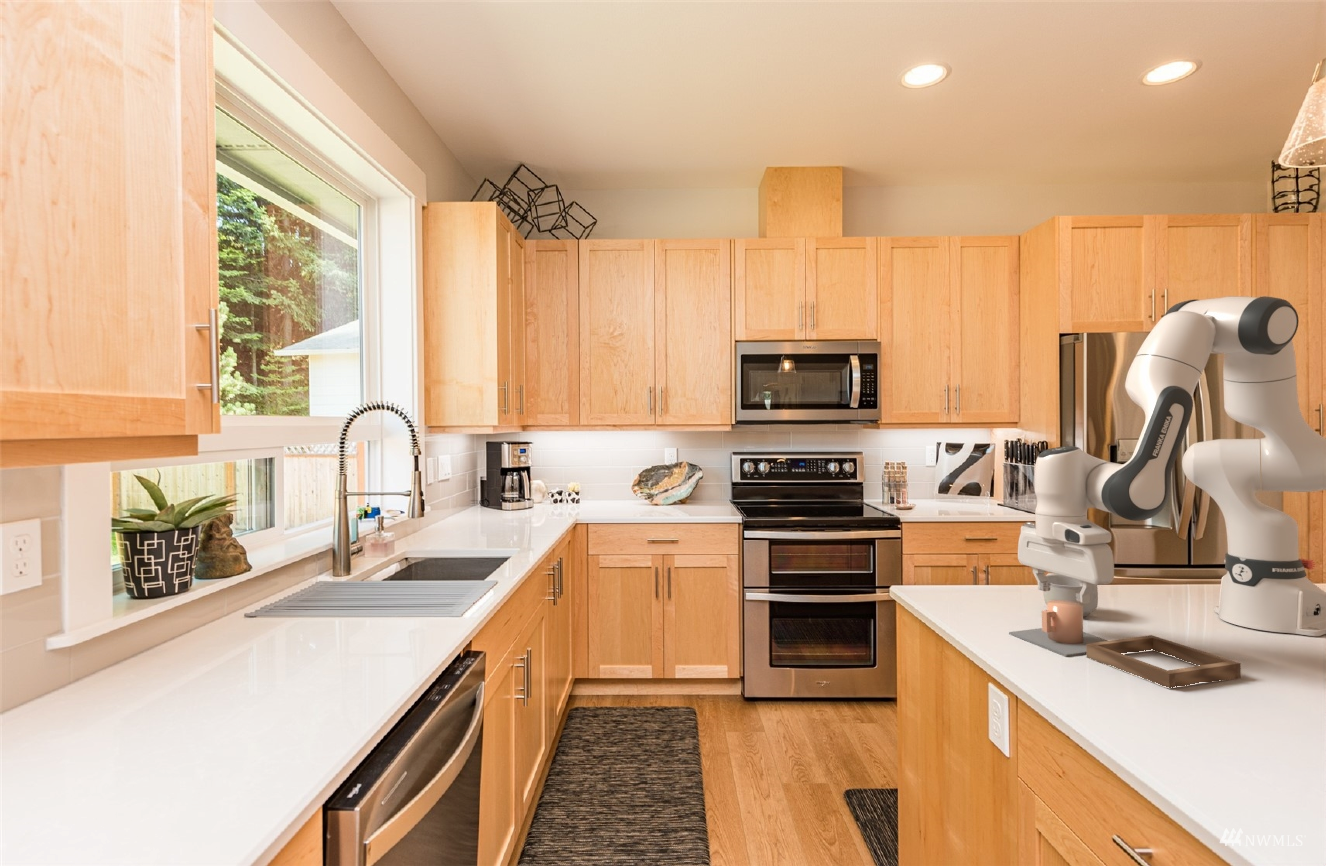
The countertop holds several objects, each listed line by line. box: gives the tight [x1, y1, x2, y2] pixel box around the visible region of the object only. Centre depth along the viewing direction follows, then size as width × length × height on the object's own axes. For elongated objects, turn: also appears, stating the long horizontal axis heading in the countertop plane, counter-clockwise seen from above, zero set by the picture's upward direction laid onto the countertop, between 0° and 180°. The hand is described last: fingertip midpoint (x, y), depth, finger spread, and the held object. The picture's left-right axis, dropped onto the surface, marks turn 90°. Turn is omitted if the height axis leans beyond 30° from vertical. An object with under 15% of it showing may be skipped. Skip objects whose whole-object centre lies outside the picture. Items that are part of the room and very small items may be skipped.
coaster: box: [1008, 627, 1109, 658], centre depth 129 cm, size 14×14×1 cm
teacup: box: [1042, 572, 1099, 617], centre depth 149 cm, size 14×11×8 cm
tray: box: [1085, 634, 1242, 688], centre depth 115 cm, size 15×15×2 cm
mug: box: [1041, 600, 1084, 644], centre depth 129 cm, size 8×6×7 cm
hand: (1063, 596), depth 130 cm, fingers open, 8 cm apart
